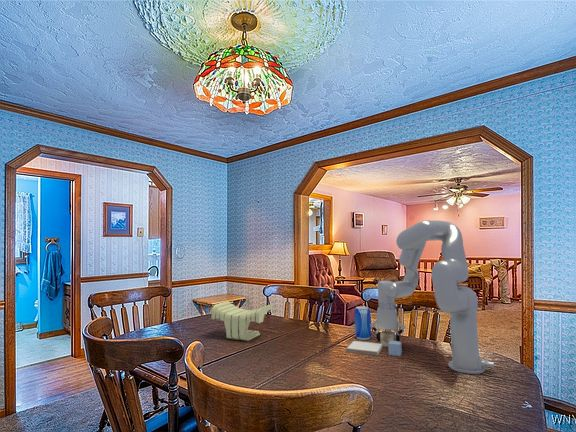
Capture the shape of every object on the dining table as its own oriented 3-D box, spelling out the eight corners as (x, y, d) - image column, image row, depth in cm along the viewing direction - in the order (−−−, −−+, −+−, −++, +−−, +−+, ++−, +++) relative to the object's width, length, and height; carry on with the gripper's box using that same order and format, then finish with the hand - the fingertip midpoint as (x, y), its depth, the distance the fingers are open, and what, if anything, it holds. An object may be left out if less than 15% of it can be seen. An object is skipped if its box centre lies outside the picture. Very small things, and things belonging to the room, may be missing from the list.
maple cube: (395, 344, 163) (395, 331, 164) (393, 347, 158) (393, 334, 158) (383, 342, 166) (382, 330, 166) (381, 346, 160) (380, 333, 161)
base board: (382, 346, 159) (382, 343, 159) (377, 355, 146) (376, 352, 147) (354, 343, 165) (354, 340, 165) (346, 352, 153) (346, 348, 153)
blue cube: (401, 352, 150) (401, 341, 150) (400, 356, 145) (399, 344, 146) (390, 351, 152) (389, 340, 153) (388, 354, 148) (388, 343, 148)
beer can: (373, 340, 170) (371, 308, 171) (356, 340, 170) (355, 309, 171) (369, 336, 178) (368, 305, 180) (354, 336, 178) (352, 306, 180)
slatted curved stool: (211, 338, 181) (211, 305, 183) (228, 331, 196) (228, 300, 197) (259, 343, 169) (258, 308, 171) (273, 335, 184) (272, 303, 185)
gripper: (405, 305, 163) (407, 342, 161) (370, 303, 171) (371, 338, 169) (403, 308, 156) (405, 346, 155) (367, 306, 164) (368, 342, 162)
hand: (388, 342), depth 162 cm, fingers open, 8 cm apart
